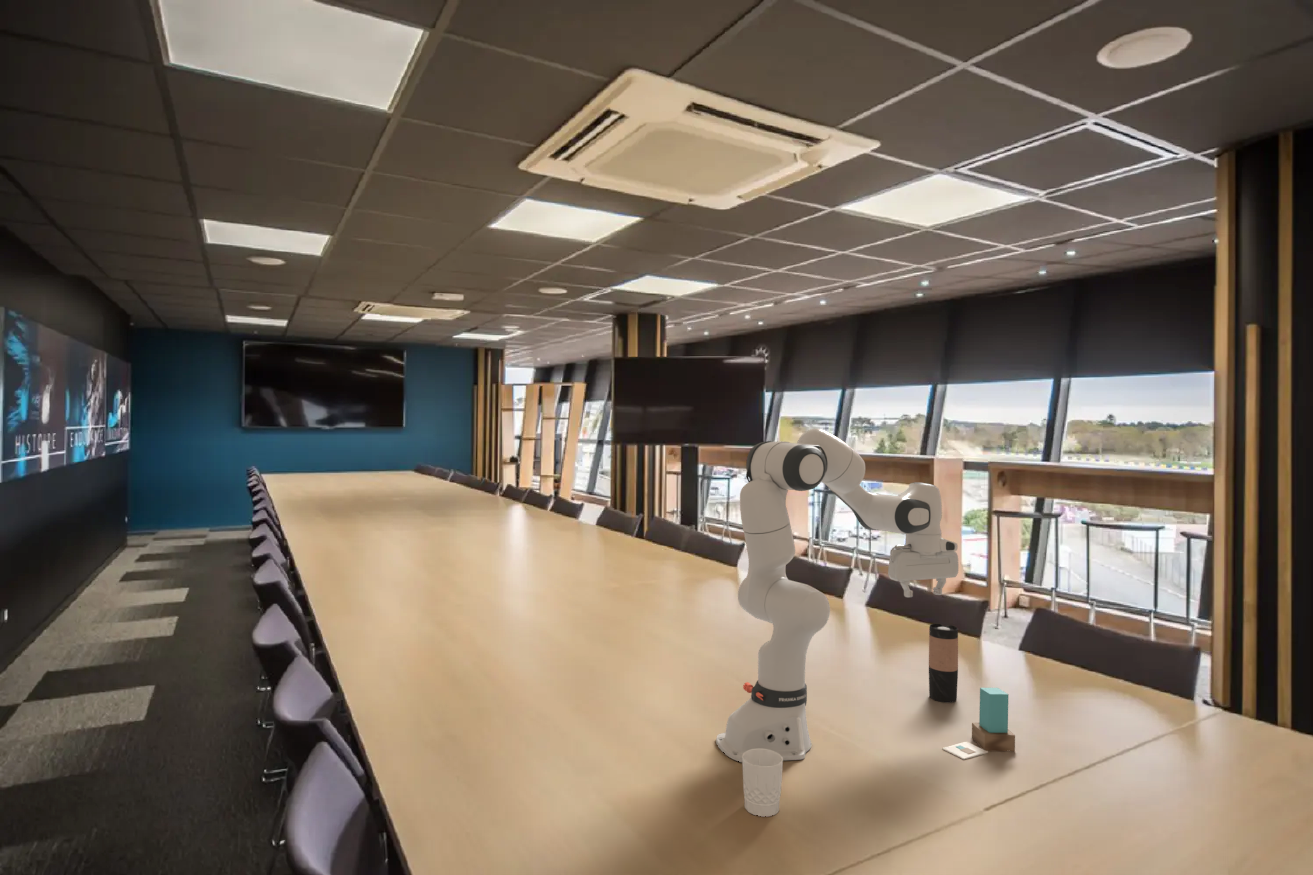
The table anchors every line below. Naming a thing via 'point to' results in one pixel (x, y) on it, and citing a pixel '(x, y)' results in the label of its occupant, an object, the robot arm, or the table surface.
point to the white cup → (762, 781)
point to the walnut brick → (993, 739)
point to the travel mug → (943, 662)
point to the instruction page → (965, 750)
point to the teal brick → (993, 710)
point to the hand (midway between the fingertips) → (923, 595)
